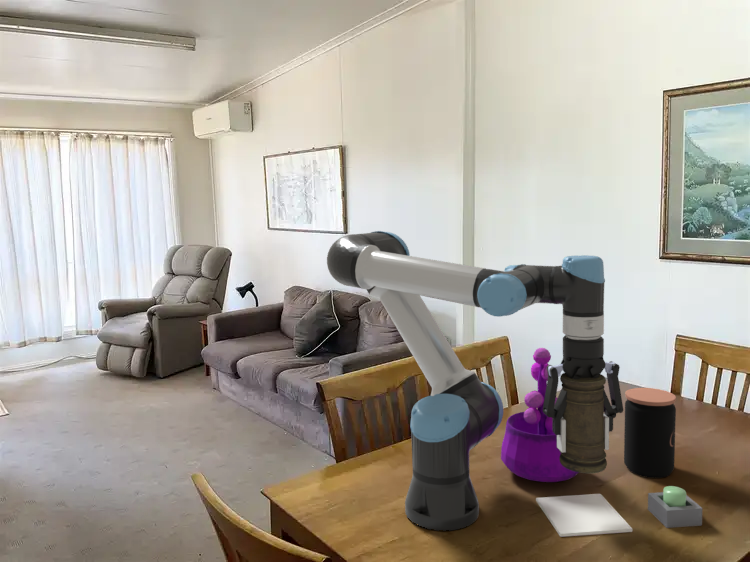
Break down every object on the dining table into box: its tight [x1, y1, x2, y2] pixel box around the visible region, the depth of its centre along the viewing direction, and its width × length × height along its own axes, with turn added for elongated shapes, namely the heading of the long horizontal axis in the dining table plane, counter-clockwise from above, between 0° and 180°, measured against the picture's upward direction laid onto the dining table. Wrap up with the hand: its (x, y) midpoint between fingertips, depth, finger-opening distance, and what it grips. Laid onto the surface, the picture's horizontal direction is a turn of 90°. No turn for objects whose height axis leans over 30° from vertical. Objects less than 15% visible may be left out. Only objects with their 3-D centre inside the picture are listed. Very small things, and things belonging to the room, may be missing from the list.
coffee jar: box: [623, 387, 677, 479], centre depth 138 cm, size 11×11×18 cm
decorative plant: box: [500, 347, 580, 483], centre depth 137 cm, size 19×18×30 cm
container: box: [559, 372, 608, 474], centre depth 117 cm, size 9×9×18 cm
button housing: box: [647, 491, 703, 529], centre depth 118 cm, size 7×7×4 cm
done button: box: [662, 485, 687, 507], centre depth 117 cm, size 4×4×4 cm
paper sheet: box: [535, 493, 633, 537], centre depth 120 cm, size 14×14×1 cm
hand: (582, 448), depth 118 cm, fingers closed on container, 8 cm apart
